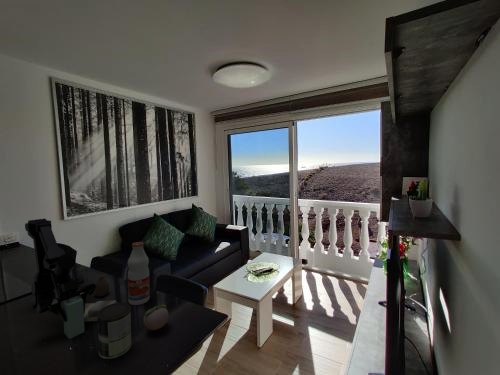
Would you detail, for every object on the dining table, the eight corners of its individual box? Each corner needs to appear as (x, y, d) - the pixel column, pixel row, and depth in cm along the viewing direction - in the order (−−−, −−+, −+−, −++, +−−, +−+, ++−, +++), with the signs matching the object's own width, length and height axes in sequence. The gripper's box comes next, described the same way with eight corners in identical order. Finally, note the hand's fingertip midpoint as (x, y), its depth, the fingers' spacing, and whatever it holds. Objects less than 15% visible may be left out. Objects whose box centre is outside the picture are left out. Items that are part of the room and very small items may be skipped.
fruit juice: (150, 294, 126) (149, 239, 124) (149, 303, 117) (148, 245, 115) (129, 297, 123) (128, 241, 120) (127, 307, 114) (125, 247, 112)
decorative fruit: (153, 340, 93) (153, 314, 92) (140, 332, 97) (139, 307, 96) (173, 326, 101) (173, 303, 100) (160, 320, 105) (159, 297, 104)
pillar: (64, 333, 96) (62, 299, 95) (79, 327, 100) (77, 293, 99) (69, 339, 93) (67, 303, 92) (84, 332, 97) (82, 297, 96)
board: (67, 322, 102) (66, 313, 102) (83, 306, 114) (83, 298, 114) (107, 320, 104) (107, 311, 104) (119, 304, 116) (118, 296, 116)
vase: (102, 299, 121) (101, 281, 120) (90, 297, 122) (89, 280, 121) (112, 292, 127) (112, 275, 127) (101, 290, 129) (100, 274, 128)
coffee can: (92, 360, 83) (90, 319, 82) (107, 338, 93) (106, 302, 92) (124, 358, 84) (123, 318, 83) (136, 337, 94) (135, 301, 93)
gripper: (36, 280, 89) (49, 321, 84) (94, 264, 104) (107, 298, 99) (31, 294, 94) (42, 334, 89) (86, 277, 109) (99, 310, 104)
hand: (75, 317), depth 95 cm, fingers open, 6 cm apart
